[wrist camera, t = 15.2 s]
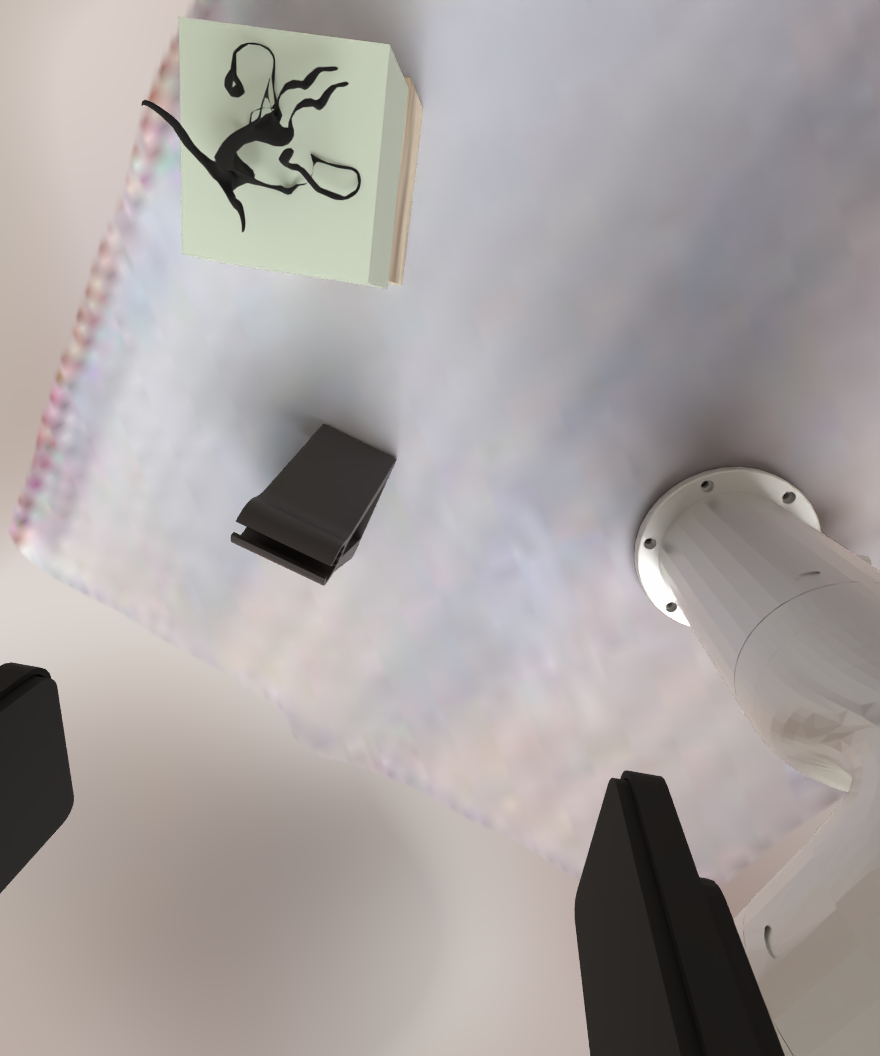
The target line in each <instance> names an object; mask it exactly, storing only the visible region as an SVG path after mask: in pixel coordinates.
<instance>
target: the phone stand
mask: <svg viewBox="0 0 880 1056" xmlns="http://www.w3.org/2000/svg"><path fill="white" fill-rule="evenodd" d="M395 462H396V459H395V458H393V457H391V456H389V455H386V454H384V453H382V452H380V451H378V450H376V449H374V448H372V447H370V446H368V445H366V444H364V443H362V442H360V441H358V440H356V439H354V438H352V437H350V436H348V435H346V434H343V433H341V432H339V431H337V430H335V429H333V428H331V427H329V426H327V425H325V424H323V425H322V426H321V427H320V428H319V430H318V431H317V432H316V433H315V434H314V435H313V436H312V437H311V439H310V440H309V441H308V442H307V443H306V444H305V445H304V447H303V448H302V449H301V450H300V451H299V452H298V453H297V454H296V456H295V457H294V458H293V459H292V460H291V461H290V462H289V463H288V465H287V466H286V467H285V468H284V469H283V470H282V471H281V472H280V474H279V475H278V476H277V477H276V478H275V479H274V480H273V481H272V483H271V484H270V485H269V486H268V487H267V488H266V489H265V490H264V491H263V492H262V493H261V494H260V495H258V496H257V497H254V498H252V499H251V500H250V501H249V502H248V503H247V504H246V506H245V507H244V508H243V510H242V511H241V513H240V515H239V516H238V518H237V520H236V522H238V523H240V524H242V525H244V526H247V527H246V529H245V530H244V532H243V533H242V534H241V535H239V534H237V533H235V532H233V533H232V535H231V542H232V543H235V544H237V545H239V546H241V547H243V548H245V549H247V550H249V551H252V552H254V553H256V554H258V555H260V556H262V557H264V558H266V559H268V560H271V561H273V562H275V563H277V564H279V565H281V566H283V567H285V568H288V569H290V570H292V571H294V572H296V573H298V574H300V575H302V576H304V577H307V578H309V579H311V580H313V581H315V582H317V583H319V584H321V585H325V584H326V583H327V581H328V580H329V578H330V577H331V575H332V574H333V573H334V571H335V570H337V569H338V568H339V567H341V566H342V565H343V564H345V563H346V562H347V561H349V560H350V559H351V558H352V557H353V555H354V553H355V551H356V549H357V547H358V544H359V542H360V540H361V538H362V535H363V533H364V531H365V529H366V527H367V524H368V522H369V520H370V518H371V515H372V513H373V511H374V508H375V507H376V504H377V502H378V500H379V498H380V495H381V493H382V491H383V489H384V487H385V484H386V482H387V480H388V478H389V475H390V473H391V471H392V469H393V467H394V464H395Z"/></svg>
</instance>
